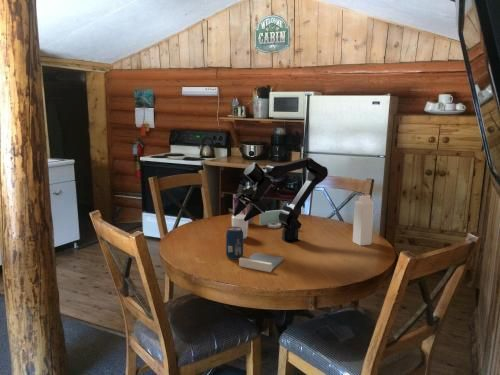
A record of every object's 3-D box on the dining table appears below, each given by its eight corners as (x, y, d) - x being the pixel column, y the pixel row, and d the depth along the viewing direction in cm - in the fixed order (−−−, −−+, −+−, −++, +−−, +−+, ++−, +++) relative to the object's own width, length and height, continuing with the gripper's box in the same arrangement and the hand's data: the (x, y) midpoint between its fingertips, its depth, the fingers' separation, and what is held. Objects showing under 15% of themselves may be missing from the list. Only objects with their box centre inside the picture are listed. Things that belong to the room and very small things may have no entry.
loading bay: (255, 254, 172) (255, 247, 172) (284, 259, 167) (284, 252, 166) (239, 266, 159) (239, 258, 159) (270, 272, 154) (270, 264, 153)
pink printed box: (231, 222, 219) (231, 194, 216) (242, 219, 224) (242, 192, 221) (245, 227, 210) (245, 198, 207) (256, 224, 215) (256, 196, 212)
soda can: (232, 252, 174) (232, 225, 172) (246, 255, 170) (246, 227, 168) (222, 257, 168) (222, 229, 166) (237, 261, 165) (237, 232, 162)
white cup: (249, 234, 198) (249, 214, 196) (247, 240, 190) (247, 219, 188) (232, 234, 199) (232, 213, 197) (230, 239, 191) (230, 218, 189)
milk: (352, 241, 189) (354, 194, 185) (363, 240, 192) (366, 193, 187) (360, 245, 184) (363, 197, 180) (371, 244, 186) (374, 196, 182)
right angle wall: (259, 226, 214) (259, 212, 213) (279, 223, 219) (280, 209, 218) (270, 232, 204) (270, 217, 202) (291, 229, 209) (291, 215, 207)
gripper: (237, 174, 182) (216, 202, 179) (259, 181, 166) (237, 212, 164) (254, 189, 188) (233, 217, 185) (276, 197, 172) (254, 227, 169)
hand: (239, 218), depth 175 cm, fingers open, 9 cm apart
